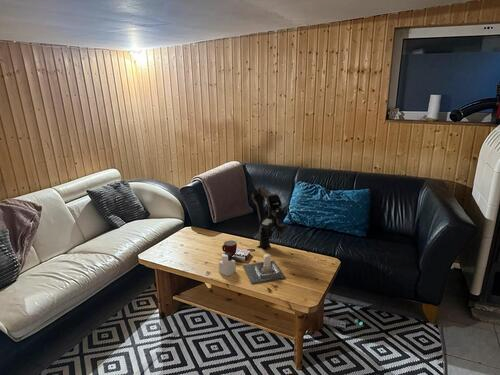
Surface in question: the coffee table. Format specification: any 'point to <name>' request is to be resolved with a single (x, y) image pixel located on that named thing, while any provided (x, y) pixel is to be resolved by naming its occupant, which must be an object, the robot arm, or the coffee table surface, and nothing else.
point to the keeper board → (258, 277)
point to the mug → (230, 247)
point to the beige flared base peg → (267, 264)
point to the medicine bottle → (227, 264)
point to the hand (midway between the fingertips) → (272, 236)
